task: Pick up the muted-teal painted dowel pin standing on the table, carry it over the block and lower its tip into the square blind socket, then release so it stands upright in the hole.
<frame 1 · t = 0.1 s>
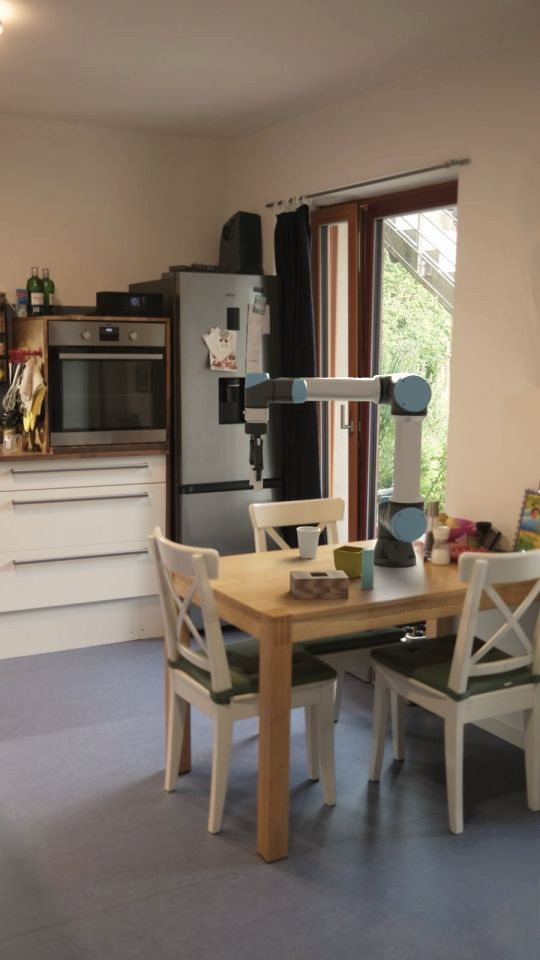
hand: (255, 488, 312), 28 cm above the table, fingers open, 13 cm apart
pin: (367, 588, 298), on the table
block: (318, 594, 290), on the table
flower pot: (350, 577, 314), on the table
dixie cup: (307, 557, 342), on the table
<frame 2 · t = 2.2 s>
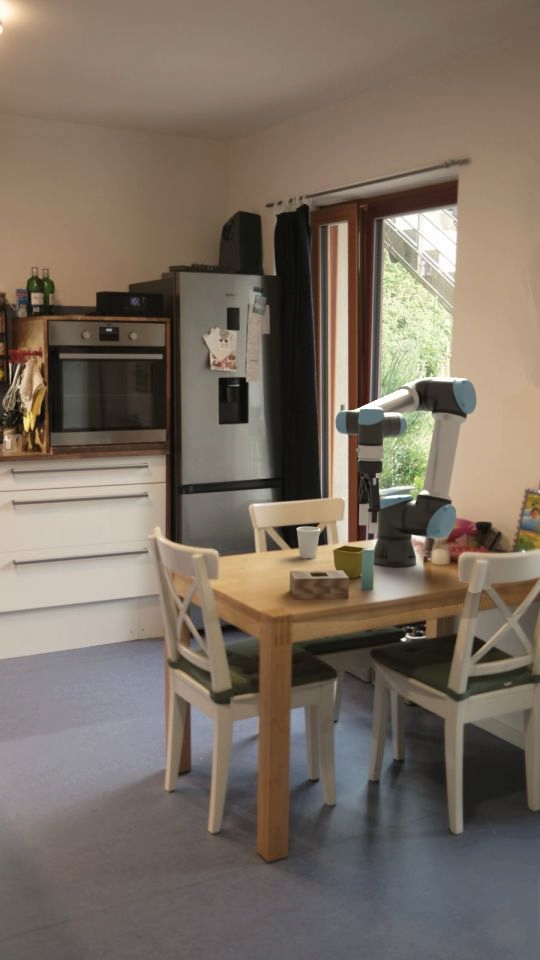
hand: (368, 529, 296), 18 cm above the table, fingers open, 13 cm apart
nothing on the table moved.
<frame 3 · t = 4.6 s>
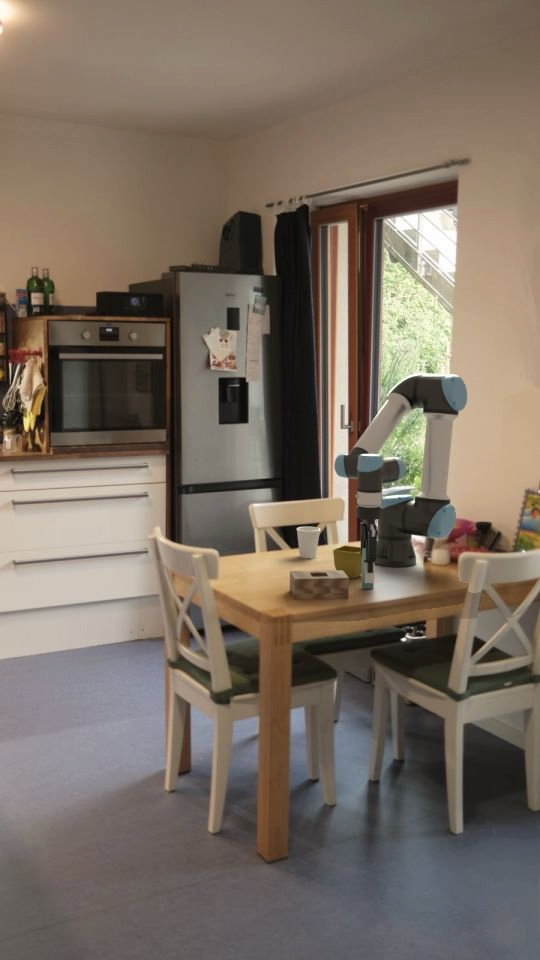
hand: (367, 580, 298), 2 cm above the table, fingers closed on pin, 3 cm apart
pin: (367, 587, 298), on the table, touching gripper
everything else where it was.
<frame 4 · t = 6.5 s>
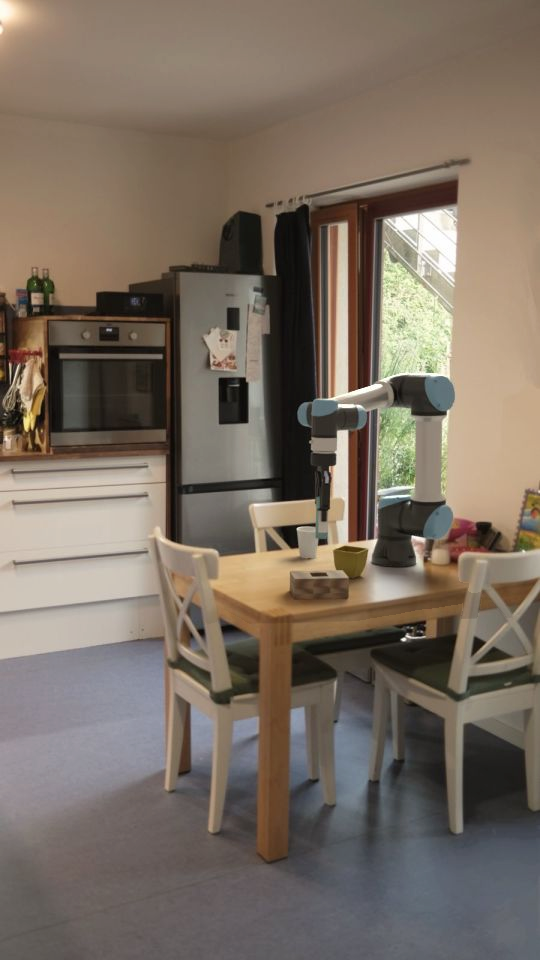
hand: (321, 530, 288), 19 cm above the table, fingers closed on pin, 3 cm apart
pin: (321, 537, 288), point 17 cm above the table, touching gripper
everything else where it was.
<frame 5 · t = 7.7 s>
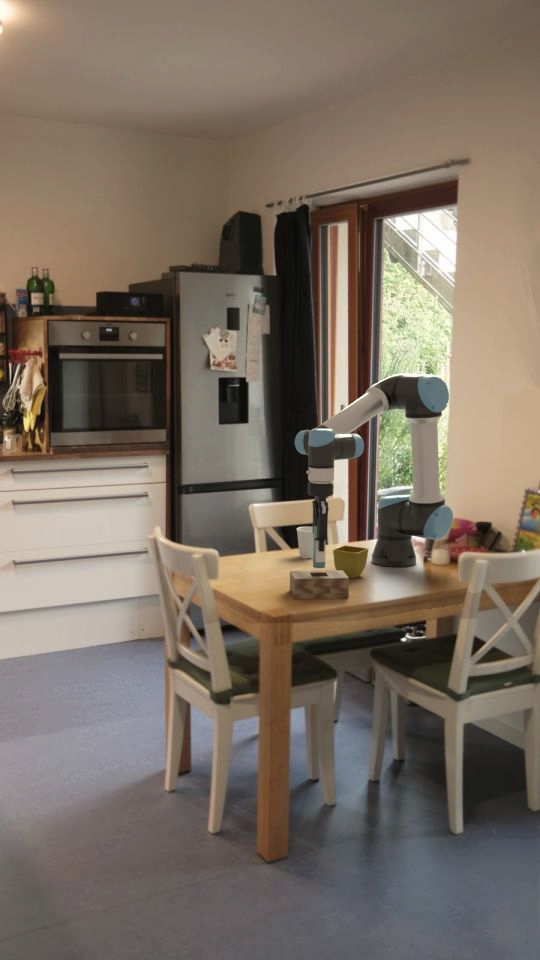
hand: (319, 560, 289), 10 cm above the table, fingers closed on pin, 3 cm apart
pin: (319, 566, 289), point 8 cm above the table, touching gripper
everything else where it was.
when the fingers open (7 cm above the table, at t = 8.5 s): pin drops 3 cm, resting on block.
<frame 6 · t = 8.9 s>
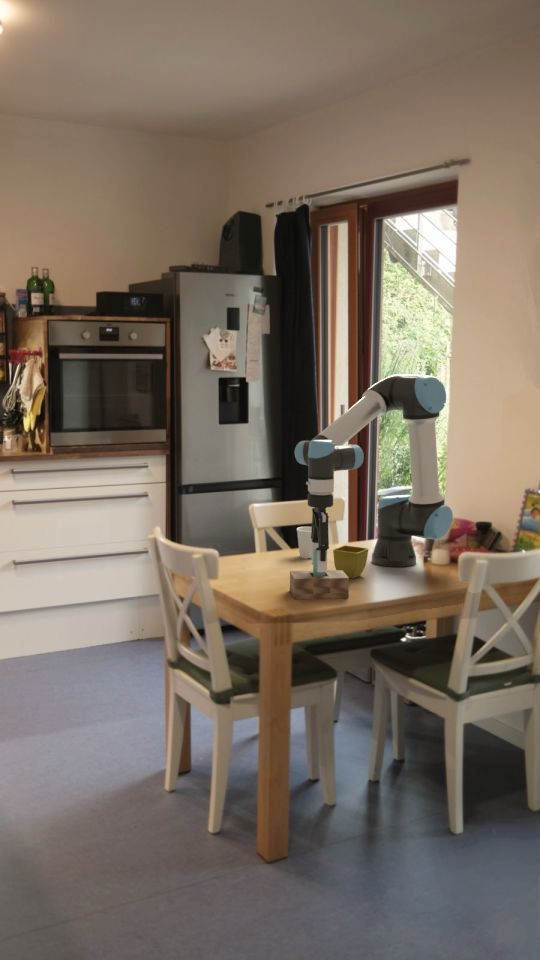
hand: (319, 567, 289), 8 cm above the table, fingers open, 9 cm apart
pin: (318, 589, 290), point 2 cm above the table, touching block
everything else where it was.
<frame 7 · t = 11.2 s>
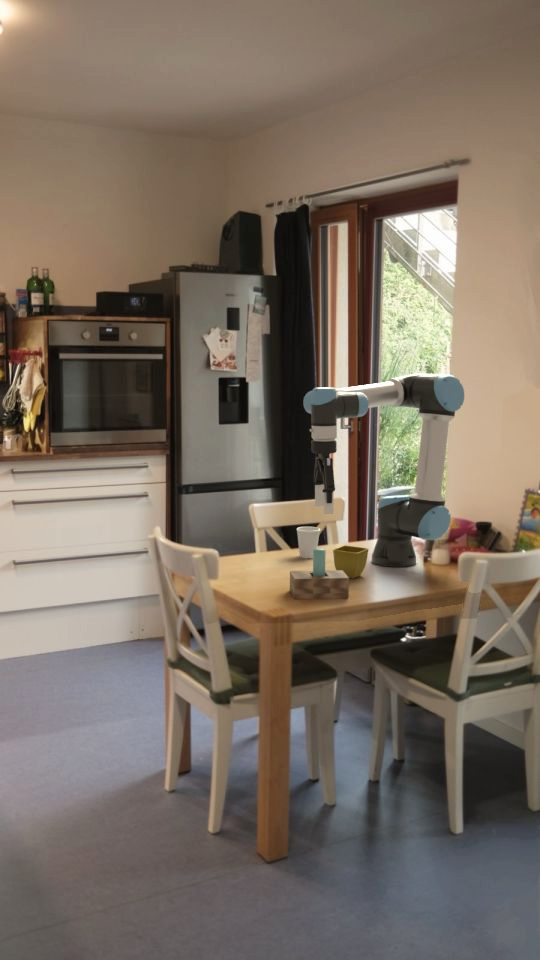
hand: (323, 509, 295), 24 cm above the table, fingers open, 13 cm apart
nothing on the table moved.
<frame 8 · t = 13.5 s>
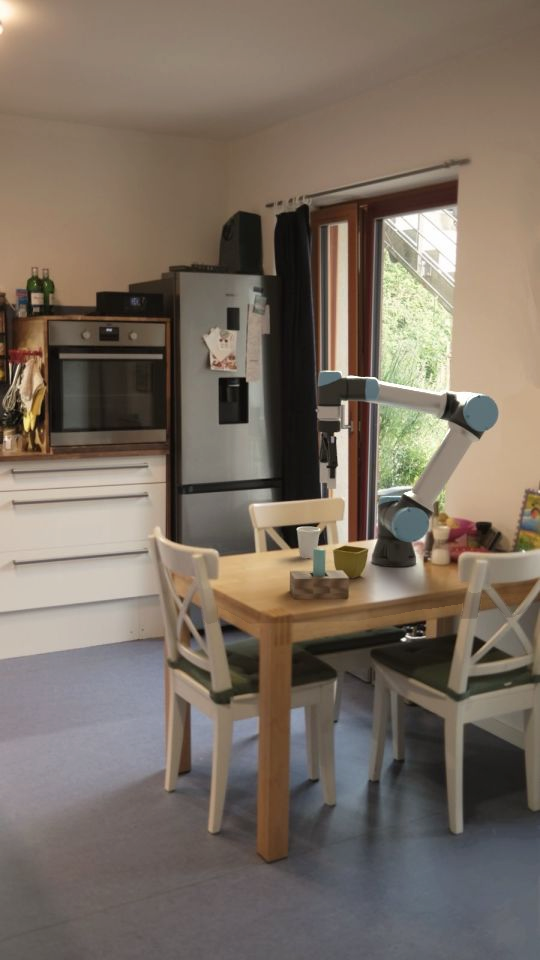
hand: (327, 485, 314), 29 cm above the table, fingers open, 13 cm apart
nothing on the table moved.
at the end: pin 0.1 cm off-centre on the block, point 1.5 cm above the block's base; pin tilted 0°; the gripper is holding nothing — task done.
